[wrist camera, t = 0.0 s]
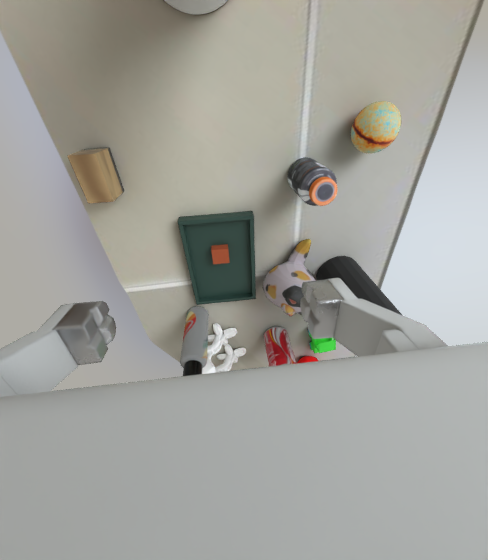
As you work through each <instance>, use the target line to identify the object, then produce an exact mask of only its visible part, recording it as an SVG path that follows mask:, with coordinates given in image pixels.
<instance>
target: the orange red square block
mask: <svg viewBox="0 0 488 560" xmlns="http://www.w3.org/2000/svg"><path fill="white" fill-rule="evenodd" d="M211 252H212V259H213V264H222V263H230V262H229V252H228V244H225V245H214V246H211Z"/></svg>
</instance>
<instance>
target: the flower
mask: <svg viewBox="0 0 488 560" xmlns="http://www.w3.org/2000/svg"><path fill="white" fill-rule="evenodd" d="M315 361H318V360H317V358H315V357H312V356H304V357H302V358H301V359H300V360H299V361H298V362H297V363H306V362H315Z"/></svg>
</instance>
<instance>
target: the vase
mask: <svg viewBox="0 0 488 560" xmlns="http://www.w3.org/2000/svg"><path fill="white" fill-rule="evenodd" d="M332 278H340V279H341V280H342V281H343V282H344V283H345V284H346V286H347V287H348V288H349V289H350V290H351V291H352V293H353V294H354V295H355V296H356V297H357V298H358V299H364V300H366V301H369V302H371V303H373V304H376V305H378V306H381V307H383V308H385V309H388V310H390V311H393V312H395V313H397V314H400V315H402V314H401V313H400V312H399V311H398V310H397V309H396V308H395V306H394V305H393V304H392V303H391V302H390V301H389V299H388V298H387V297H386V296H385V295H384V294H383V292H381V290H380V289H379V288H378V287H377V286H376V284H375V283H374V282H373V281H372V280H371V279H370V278H369V276H368V275H367V274H366V273H365V272H364V271H363V270H362V268H361V267H360V266H359V265H358V264H357V263H356V262H355V261H354V260H353V259H352V258H350V257H346V256H339V257H335V258H332V259H330V260H328V261H327V262H326V263H324V264H323V265H322V266H321V268H320V269H319V270H318V273H317V280H325V279H332ZM402 316H403V315H402Z"/></svg>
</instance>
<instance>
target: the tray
mask: <svg viewBox="0 0 488 560" xmlns="http://www.w3.org/2000/svg"><path fill="white" fill-rule="evenodd" d="M178 225H179V229H180V234H181V238H182V243H183V247H184V251H185V256H186V260H187V264H188V269H189V273H190V278H191V282H192V286H193V291H194V295H195V300H196V304H197V305H199V304H209V303H219V302H229V301H239V300H249V299H256V290H255V251H254V215H253V212H252V211H247V212H234V213H222V214H210V215H198V216H186V217H179V219H178ZM225 244H228V252H229V262H230V263H222V264H213V259H212V252H211V246H214V245H225Z"/></svg>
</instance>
